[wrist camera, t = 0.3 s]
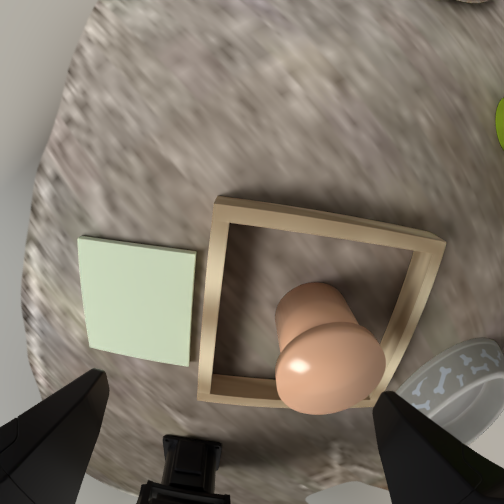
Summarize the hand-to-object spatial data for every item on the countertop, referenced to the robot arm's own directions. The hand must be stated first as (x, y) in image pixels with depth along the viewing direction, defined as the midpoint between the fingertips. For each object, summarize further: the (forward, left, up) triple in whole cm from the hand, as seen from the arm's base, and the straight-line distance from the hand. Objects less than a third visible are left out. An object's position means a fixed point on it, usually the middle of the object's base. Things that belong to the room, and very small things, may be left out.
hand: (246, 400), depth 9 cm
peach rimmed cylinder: (-5, -6, -13) cm, 15 cm away
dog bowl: (-16, -26, -14) cm, 33 cm away
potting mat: (-6, +8, -13) cm, 16 cm away
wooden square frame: (-5, -6, -13) cm, 15 cm away
